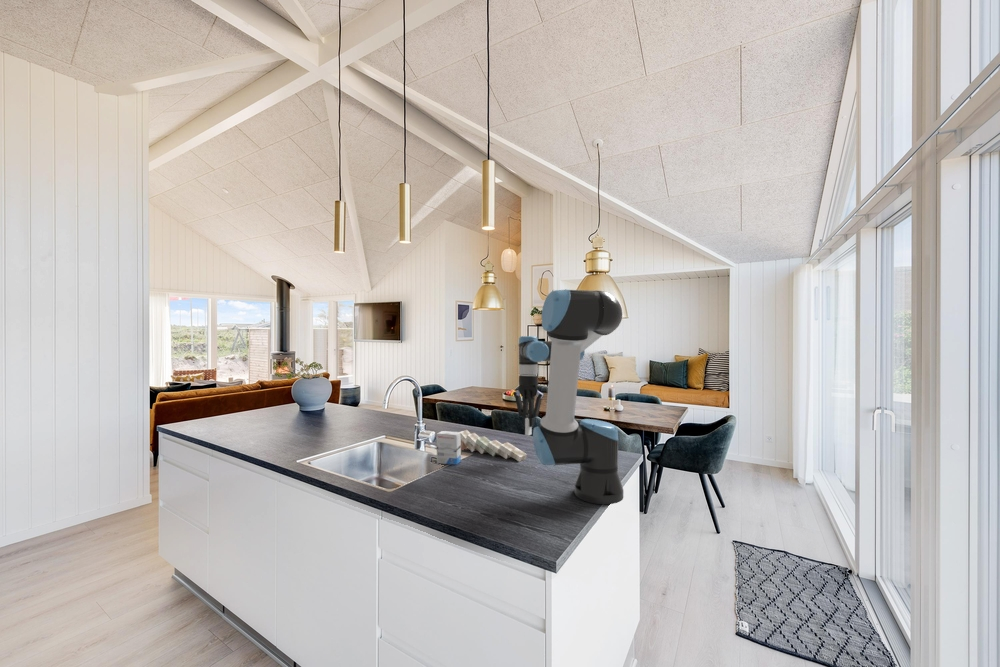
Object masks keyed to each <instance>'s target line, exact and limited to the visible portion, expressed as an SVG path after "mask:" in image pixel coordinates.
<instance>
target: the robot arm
mask: <svg viewBox="0 0 1000 667" xmlns="http://www.w3.org/2000/svg"><path fill="white" fill-rule="evenodd" d="M622 320H623V308H622V306H621V302H620V301H619V300H618V299H617V297H615V296H614V295H612V294H611V293H609V292H607V291H603V290H583V289H582V290H581V289H567V288H566V289H556V290H552V291H550V292H549V293H548V295H547V296H546V297H545V299H544V302H543V305H542V310H541V326H542V329H543V330H544V331H546V336H547V337H548V338H549V341H548V340H547V341H546V340H545V341H543V340H542V341H541V340H538V336H535V335H534V336H533V335H530V336H528V335H525V336H524V335H523V336H521V335H520V337H519V338H518V345H517V346H518V374H519V376H518V385H519V386H518V388H517V390H516V391H513V393H512V395H513V396H514V399H515V403H516V407H517V412H518V416H519V417H522V421H523V427H524V428H525V429H524V436H532V440H533V442H532V443H533V447H534V451H535V455H536V458H537V460H538V462H539V464H541V465H542V466H553V467H556V466H566V465H579V471H578V473H577V474H578V475H577V477H576V479H575V483H574V491H573V492H574V496H575V497H577V498H578V499H580V500H582V501H584V502H587V503H591V504H595V505H596V504H597V505H613V504H618V503H620V502H621V501H623V500H624V487H623V485H622V481H621V478H620V475H619V440H620V439H619V430H618V427H617V426H616V425H614V424H612V423H610V422H609V421H608V422H607V421H603V420H599V419H594V418H593V419H592V418H591V419H590V418H584V419H581V420H580V422H579V423H578V421H577V420H576V419H575V413H576V402H577V394H578V393H577V392H578V382H579V374H580V373H579V372H580V364H581V361H582V360H583V359H584V356H585V350H586V349H588V348H589V347H590V346H592V345H593V344H594V343H595V342H597V341H598V340H599V339H600V338H601V337H603V336H608V335H610V334H612V333H613V332H614V331H616V330H617V328H618V327H619V326H620V325H621V322H622ZM540 362H549V373H548V384H547V395H546V396H547V397H546V398H547V399H546V406H545V407H546V409H545V415H544V416H543V417H541V419H540V422H539V424H540V425H539V426H535V427H534V424H535V422H534V419H535V418H537V417H539V412H540V410H541V405H542V399H543V398H544V397H545V393H543V392H541V391H540V390H539V386H538V385H539V378H538V377H539V376H538V373H539V371H538V370H539V369H538V368H539V367H538V364H539V363H540ZM535 398H536V400H535ZM533 427H534V428H533ZM532 428H533V429H532Z"/></svg>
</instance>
